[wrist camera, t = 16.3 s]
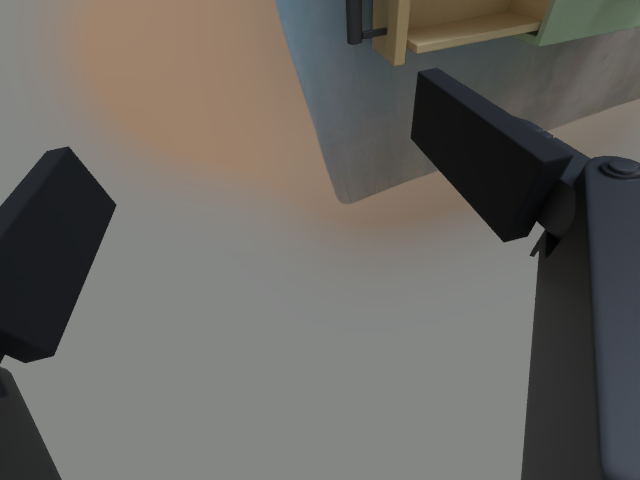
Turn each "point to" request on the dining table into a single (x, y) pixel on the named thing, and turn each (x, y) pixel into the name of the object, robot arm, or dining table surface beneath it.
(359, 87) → the dining table surface
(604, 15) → the cabinet
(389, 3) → the drawer
